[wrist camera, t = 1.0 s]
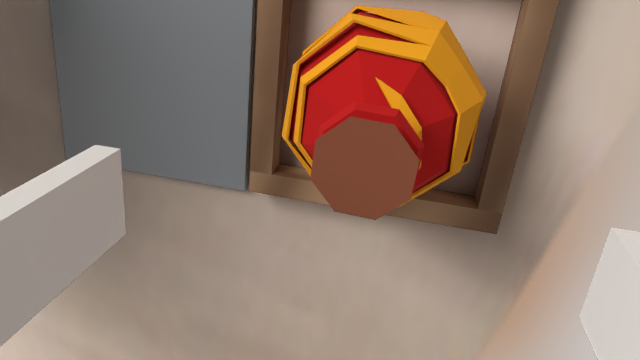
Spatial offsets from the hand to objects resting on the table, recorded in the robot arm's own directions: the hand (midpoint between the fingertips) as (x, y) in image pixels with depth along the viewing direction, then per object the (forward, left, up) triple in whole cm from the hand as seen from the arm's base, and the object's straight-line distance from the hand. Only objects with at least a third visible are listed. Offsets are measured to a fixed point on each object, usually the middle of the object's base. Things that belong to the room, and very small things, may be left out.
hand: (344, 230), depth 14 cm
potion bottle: (0, 0, -21) cm, 21 cm away
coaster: (-16, -2, -20) cm, 26 cm away
